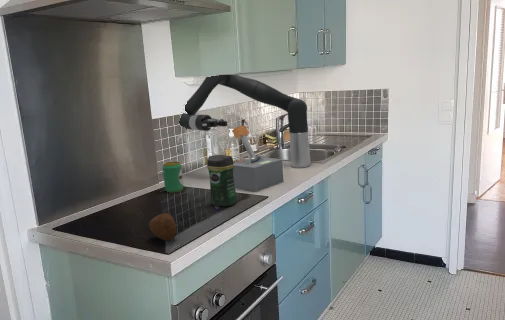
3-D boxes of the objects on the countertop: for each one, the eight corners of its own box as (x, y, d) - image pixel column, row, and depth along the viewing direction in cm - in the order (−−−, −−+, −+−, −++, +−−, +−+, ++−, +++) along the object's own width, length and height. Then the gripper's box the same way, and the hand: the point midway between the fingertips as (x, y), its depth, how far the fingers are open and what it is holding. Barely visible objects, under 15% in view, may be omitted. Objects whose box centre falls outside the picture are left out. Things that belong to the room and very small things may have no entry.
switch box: (256, 177, 195) (254, 151, 192) (283, 181, 184) (281, 154, 181) (228, 187, 182) (226, 159, 179) (256, 191, 171) (253, 162, 169)
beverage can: (181, 192, 179) (178, 164, 176) (163, 193, 179) (159, 165, 177) (185, 187, 187) (182, 160, 184) (168, 188, 187) (165, 162, 185)
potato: (166, 246, 121) (163, 220, 120) (145, 239, 127) (142, 214, 126) (185, 237, 127) (183, 212, 125) (165, 231, 133) (162, 207, 131)
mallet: (257, 161, 184) (241, 128, 186) (262, 158, 182) (245, 125, 184) (248, 164, 179) (232, 130, 182) (252, 161, 177) (236, 127, 180)
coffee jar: (240, 202, 158) (236, 153, 154) (226, 208, 152) (222, 158, 148) (221, 199, 164) (217, 152, 160) (207, 205, 158) (202, 156, 154)
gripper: (189, 116, 194) (214, 116, 183) (210, 113, 204) (236, 113, 192) (190, 132, 196) (216, 134, 184) (211, 128, 205) (237, 130, 194)
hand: (226, 123), depth 188 cm, fingers closed
